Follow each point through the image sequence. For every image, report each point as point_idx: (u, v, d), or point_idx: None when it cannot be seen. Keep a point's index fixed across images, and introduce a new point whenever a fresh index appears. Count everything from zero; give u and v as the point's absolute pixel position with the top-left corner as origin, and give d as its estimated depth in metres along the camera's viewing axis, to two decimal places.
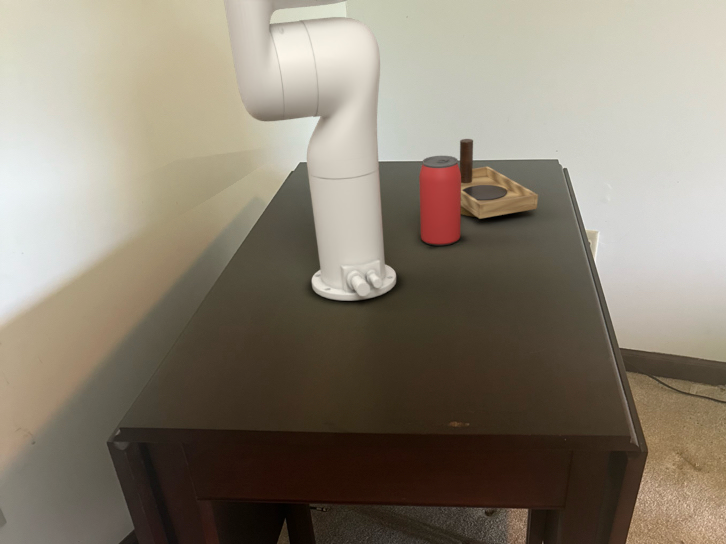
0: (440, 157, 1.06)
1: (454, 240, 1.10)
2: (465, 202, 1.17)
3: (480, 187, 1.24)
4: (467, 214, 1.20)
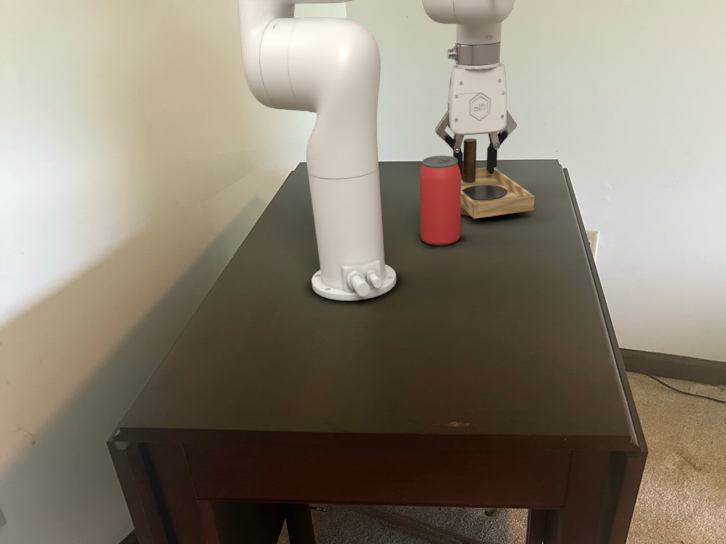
0: (440, 157, 1.06)
1: (454, 240, 1.10)
2: (463, 201, 1.18)
3: (481, 187, 1.24)
4: (467, 214, 1.20)
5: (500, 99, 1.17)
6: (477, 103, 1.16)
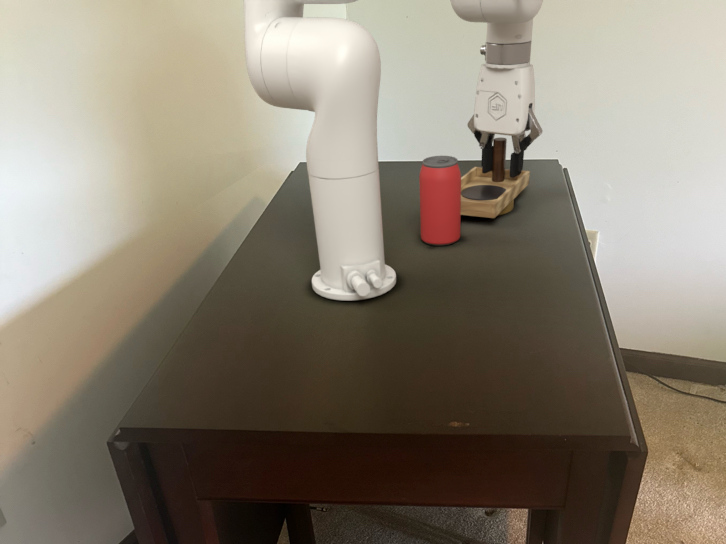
0: (440, 157, 1.06)
1: (454, 240, 1.10)
2: None
3: (490, 188, 1.23)
4: None
5: (516, 102, 1.14)
6: (495, 102, 1.16)
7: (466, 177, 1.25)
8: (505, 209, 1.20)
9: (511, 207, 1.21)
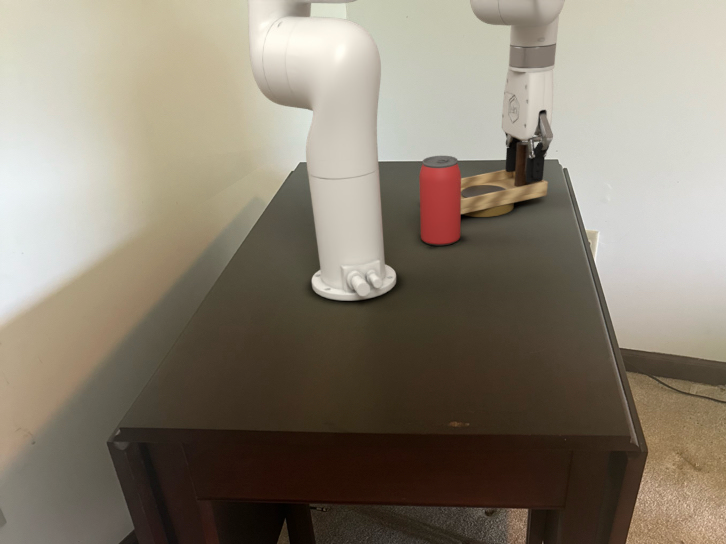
0: (440, 157, 1.06)
1: (454, 240, 1.10)
2: None
3: (496, 190, 1.22)
4: (467, 214, 1.20)
5: (524, 107, 1.11)
6: (513, 105, 1.14)
7: (488, 175, 1.26)
8: (505, 209, 1.20)
9: (511, 207, 1.21)
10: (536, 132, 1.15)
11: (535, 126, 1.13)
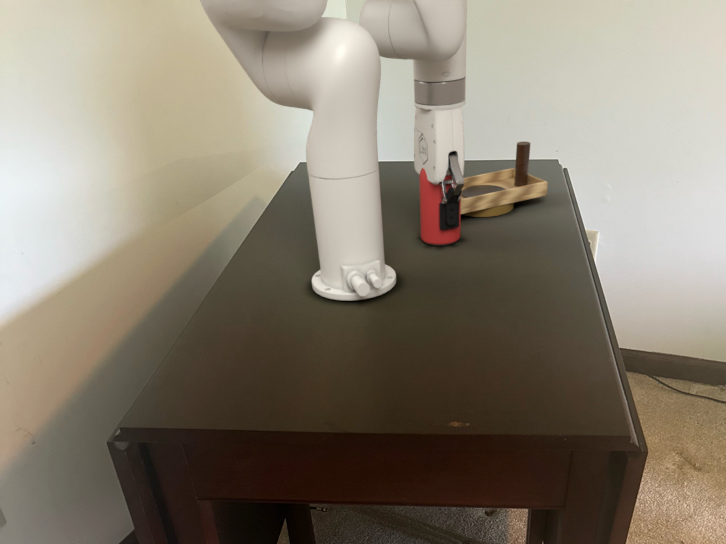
0: None
1: (454, 240, 1.10)
2: None
3: (496, 190, 1.22)
4: (467, 214, 1.20)
5: (432, 148, 0.99)
6: (422, 144, 1.02)
7: (488, 175, 1.26)
8: (505, 209, 1.20)
9: (511, 207, 1.21)
10: (449, 174, 1.03)
11: (445, 169, 1.00)
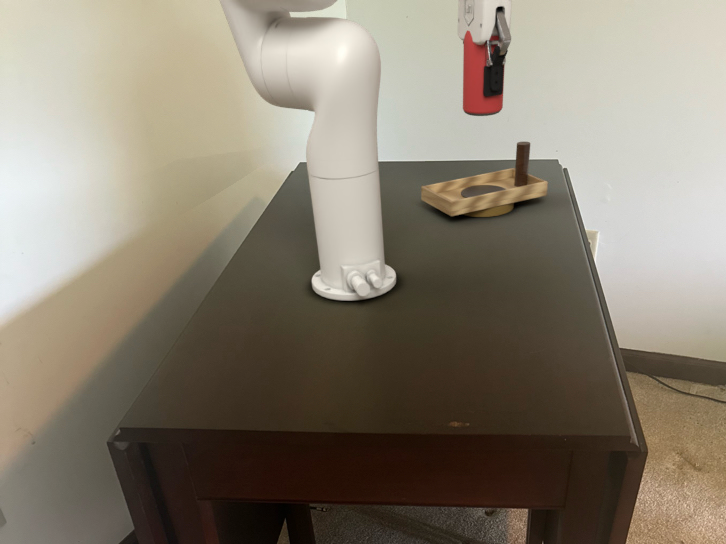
0: None
1: (497, 110, 1.10)
2: None
3: (496, 190, 1.22)
4: (467, 214, 1.20)
5: (480, 3, 0.99)
6: (468, 4, 1.02)
7: (488, 175, 1.26)
8: (505, 209, 1.20)
9: (511, 207, 1.21)
10: (494, 35, 1.03)
11: (492, 26, 1.00)
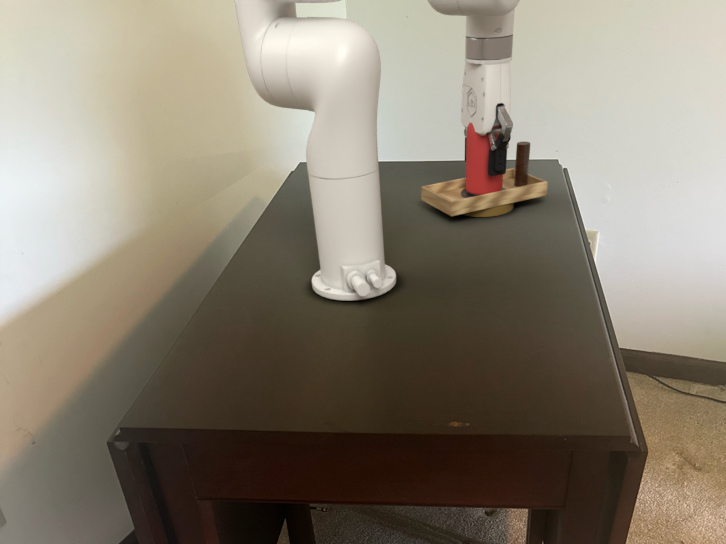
0: None
1: None
2: None
3: None
4: (467, 214, 1.20)
5: (481, 100, 1.08)
6: (471, 98, 1.11)
7: None
8: (505, 209, 1.20)
9: (511, 207, 1.21)
10: (495, 126, 1.12)
11: (493, 120, 1.10)
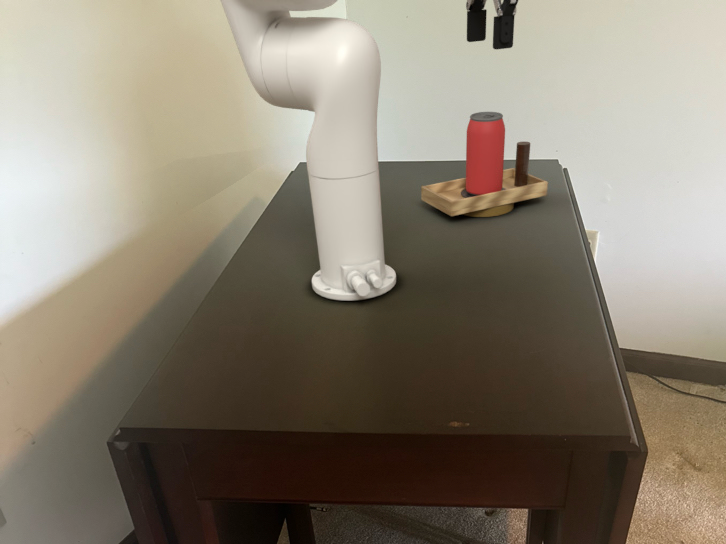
0: (486, 113, 1.15)
1: None
2: None
3: None
4: (467, 214, 1.20)
5: None
6: None
7: None
8: (505, 209, 1.20)
9: (511, 207, 1.21)
10: None
11: None
